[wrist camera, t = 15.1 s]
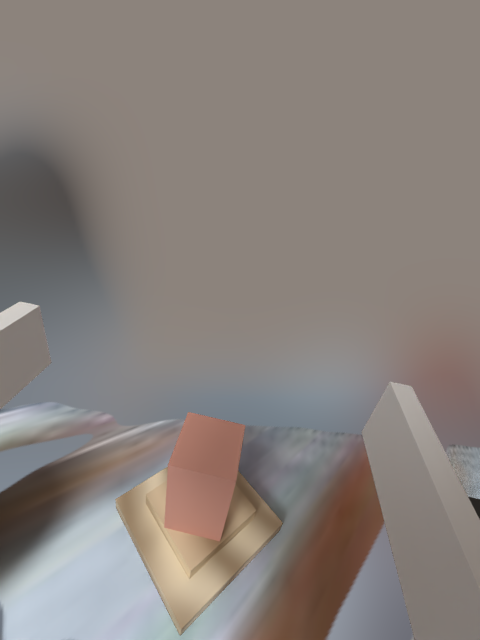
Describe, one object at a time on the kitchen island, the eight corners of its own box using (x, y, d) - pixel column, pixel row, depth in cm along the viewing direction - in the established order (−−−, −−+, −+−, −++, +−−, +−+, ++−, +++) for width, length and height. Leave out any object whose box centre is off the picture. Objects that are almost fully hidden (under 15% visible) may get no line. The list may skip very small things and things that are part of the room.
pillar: (229, 485, 36) (245, 425, 31) (220, 541, 31) (236, 481, 26) (181, 474, 37) (188, 412, 31) (164, 527, 31) (167, 464, 26)
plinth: (209, 448, 45) (213, 430, 43) (279, 531, 37) (286, 514, 35) (116, 508, 36) (114, 489, 34) (180, 635, 28) (182, 621, 26)
